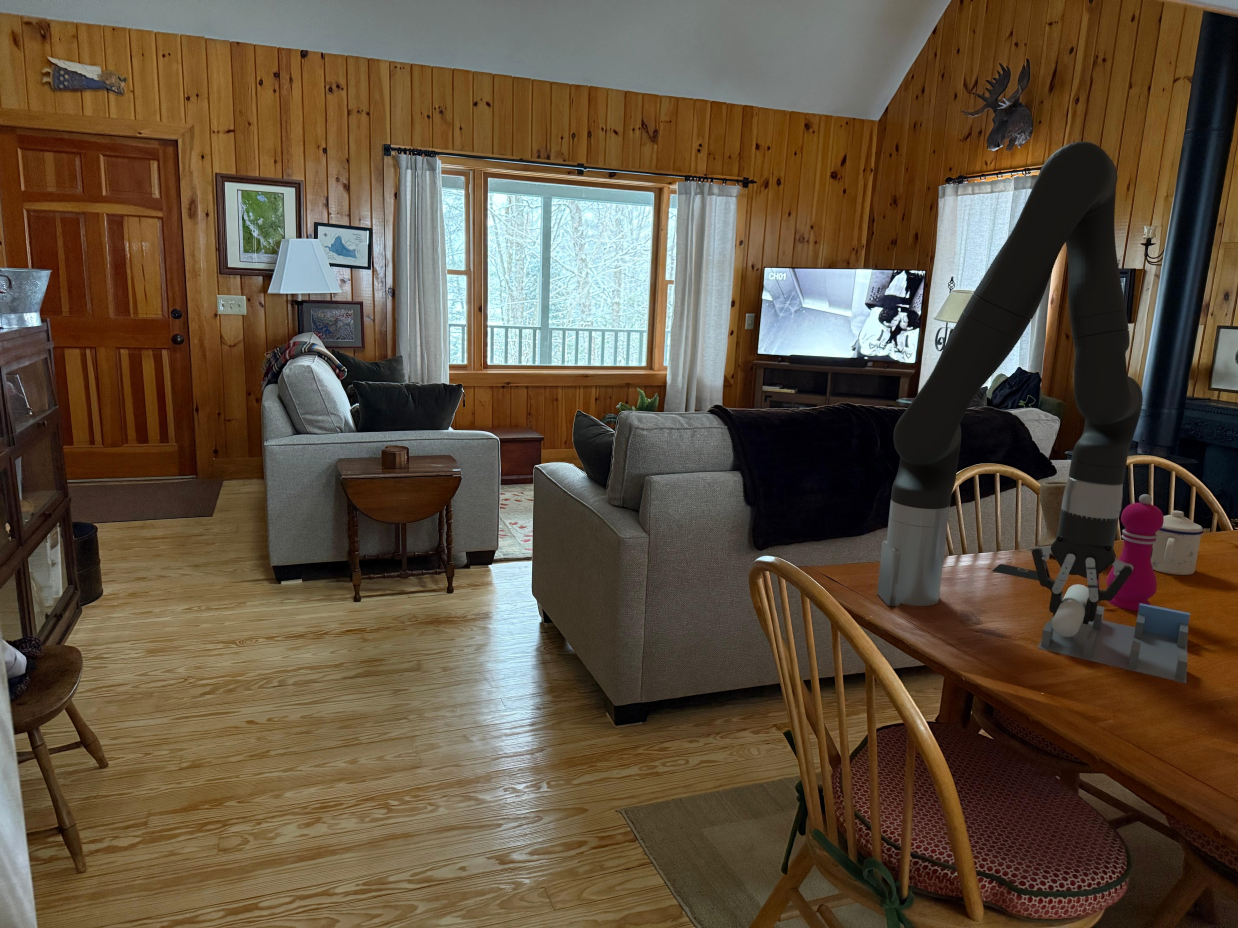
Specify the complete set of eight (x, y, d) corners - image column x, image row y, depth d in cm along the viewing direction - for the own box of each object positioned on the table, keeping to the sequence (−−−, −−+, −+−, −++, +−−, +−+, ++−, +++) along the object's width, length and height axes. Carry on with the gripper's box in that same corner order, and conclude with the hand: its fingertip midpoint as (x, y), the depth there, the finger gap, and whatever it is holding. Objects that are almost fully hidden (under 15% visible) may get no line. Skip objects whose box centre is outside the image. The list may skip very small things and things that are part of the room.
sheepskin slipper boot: (1037, 538, 183) (1046, 472, 180) (1098, 549, 176) (1109, 480, 173) (1023, 554, 171) (1033, 483, 168) (1089, 566, 164) (1100, 492, 161)
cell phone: (1049, 578, 157) (1050, 573, 157) (1025, 603, 143) (1026, 598, 143) (999, 567, 163) (1000, 563, 162) (972, 590, 149) (973, 585, 148)
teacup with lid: (1143, 558, 171) (1153, 503, 169) (1197, 568, 166) (1207, 511, 163) (1136, 572, 162) (1146, 514, 159) (1193, 583, 156) (1203, 523, 154)
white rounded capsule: (1077, 639, 119) (1081, 616, 118) (1050, 632, 121) (1053, 610, 120) (1089, 608, 132) (1093, 587, 131) (1065, 602, 134) (1068, 581, 133)
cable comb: (1185, 689, 111) (1191, 654, 110) (1036, 654, 121) (1041, 621, 120) (1186, 644, 127) (1191, 613, 126) (1054, 616, 137) (1059, 587, 136)
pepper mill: (1159, 619, 137) (1180, 501, 133) (1111, 614, 138) (1130, 497, 134) (1142, 603, 144) (1161, 491, 140) (1096, 599, 145) (1114, 487, 141)
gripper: (1033, 505, 124) (1016, 614, 127) (1144, 524, 116) (1122, 639, 119) (1041, 496, 130) (1024, 600, 133) (1147, 514, 122) (1126, 624, 125)
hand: (1071, 618), depth 126 cm, fingers closed on white rounded capsule, 3 cm apart
